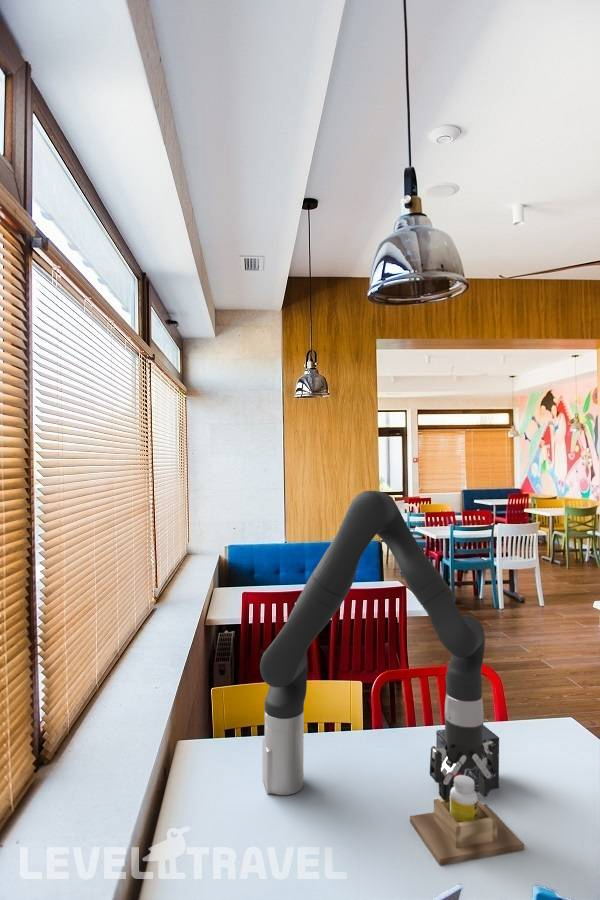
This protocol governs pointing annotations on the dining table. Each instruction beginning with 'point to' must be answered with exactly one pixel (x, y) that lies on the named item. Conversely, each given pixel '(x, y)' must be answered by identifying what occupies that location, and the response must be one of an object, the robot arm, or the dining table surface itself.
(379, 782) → the dining table surface
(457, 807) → the supplement bottle
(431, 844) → the holder stand
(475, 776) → the small box
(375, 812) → the dining table surface
